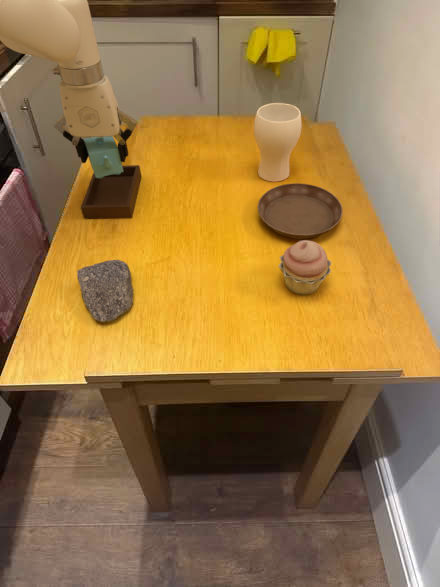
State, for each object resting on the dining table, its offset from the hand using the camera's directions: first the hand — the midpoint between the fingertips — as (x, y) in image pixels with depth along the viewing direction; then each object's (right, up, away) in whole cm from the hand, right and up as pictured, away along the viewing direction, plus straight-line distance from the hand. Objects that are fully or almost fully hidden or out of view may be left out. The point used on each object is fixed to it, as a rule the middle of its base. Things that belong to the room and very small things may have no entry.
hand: (104, 159), depth 88 cm
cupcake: (+40, -27, -12) cm, 50 cm away
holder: (0, -6, +7) cm, 10 cm away
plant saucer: (+42, -13, 0) cm, 44 cm away
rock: (+5, -30, -14) cm, 33 cm away
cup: (+38, 0, +12) cm, 40 cm away
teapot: (0, -2, +3) cm, 4 cm away
